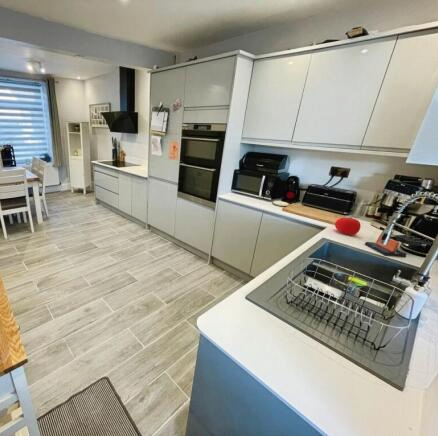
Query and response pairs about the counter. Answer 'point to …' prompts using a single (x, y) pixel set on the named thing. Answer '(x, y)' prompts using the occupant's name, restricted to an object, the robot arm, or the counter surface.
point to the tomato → (348, 225)
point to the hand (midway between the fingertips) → (387, 238)
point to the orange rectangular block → (389, 244)
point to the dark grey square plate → (385, 250)
